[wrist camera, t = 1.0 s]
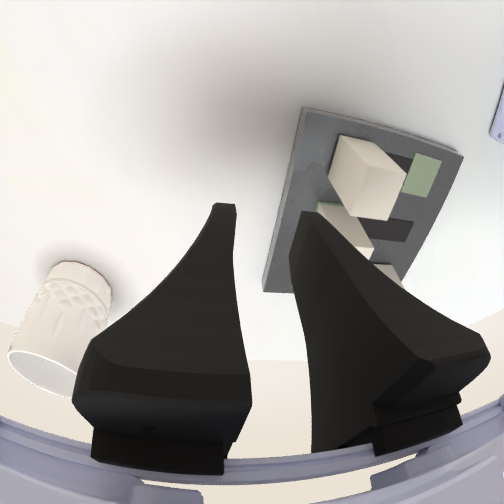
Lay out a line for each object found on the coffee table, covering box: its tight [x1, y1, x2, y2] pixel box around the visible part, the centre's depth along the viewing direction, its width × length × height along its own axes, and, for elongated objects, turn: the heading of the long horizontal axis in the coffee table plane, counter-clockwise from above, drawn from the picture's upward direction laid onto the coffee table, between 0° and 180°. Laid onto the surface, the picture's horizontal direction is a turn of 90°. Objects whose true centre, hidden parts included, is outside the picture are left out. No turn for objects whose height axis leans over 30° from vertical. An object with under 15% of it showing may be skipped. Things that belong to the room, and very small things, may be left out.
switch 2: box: [317, 204, 374, 260], centre depth 19 cm, size 2×3×4 cm
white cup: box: [7, 262, 112, 399], centre depth 22 cm, size 8×8×10 cm
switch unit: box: [262, 107, 464, 293], centre depth 22 cm, size 13×15×1 cm
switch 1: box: [328, 135, 407, 221], centre depth 16 cm, size 2×3×4 cm
